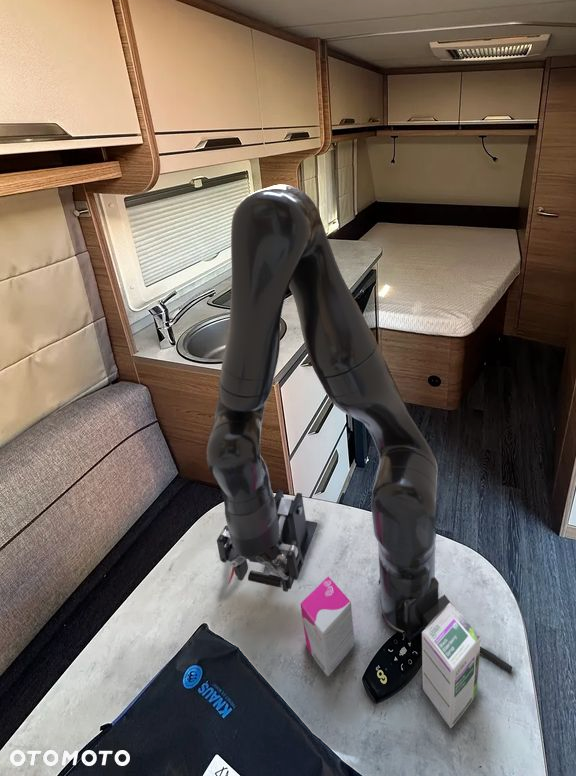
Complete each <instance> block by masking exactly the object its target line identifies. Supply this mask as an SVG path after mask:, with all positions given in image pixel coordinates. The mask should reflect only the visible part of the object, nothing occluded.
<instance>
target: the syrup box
mask: <svg viewBox="0 0 576 776" xmlns="http://www.w3.org/2000/svg"><path fill="white" fill-rule="evenodd" d="M480 647H481V636H480V634H479V633H478V632H477V630H475V629H474V627H473V626H472V625H471V624H470V623H469V621H468V620H467V619H466V618H465V617H464V616H463V615H462V614H461V613H460V611H458V609H457V608H456V607H454V605H453V604H452V602H451V603H449V604H448V605H447V606H446V607H445V608H444V609H443V610H442V611H441V612H440V613H439V614H438V615H437V616H436V617H435V618H434V619H433V620H432V621H431V622H430V624H429V625H428V626H427V627H426V628H425V629H424V630H423V631H422V633H421V655H422V656H421V660H422V661H421V662H422V663H421V664H422V665H421V666H422V669H421V670H422V690H423V691H424V693H425V694H426V695H427V697H428V699H429V700H430V701H431V703H432V704H433V706H434V707H435V709H436V710H437V712H438V713H439V714H440V716H441V717H442V718H443V720H444V721H445V723H446V724H447V726H448V727H449V729H452V728H453V727H454V726H455V724H457V722H458V721H459V720H460V719H461V717H462V716H463V714H464V713H465V712H466V711H467V709H468V708H469V706H470V705H471V704H472V702H473V701H474V699H475V698H476V697H477V695H478V681H479V678H478V677H479V667H480Z"/></svg>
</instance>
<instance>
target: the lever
mask: <svg viewBox="0 0 576 776" xmlns="http://www.w3.org/2000/svg"><path fill="white" fill-rule="evenodd" d="M293 501H294V498H288V497H284V498H283V497H282V498H281V501H280V505H279V508H278V511H277V514H278V515H279V516H280V519H279V537H280V539H281V538H282V534H283V531H284V527H285V524H286V520H287V518H289V516H288V512H289V510H290V508H291V505H292V503H293ZM272 562H273V563H274V562H275V559H274V560H273V561H272ZM247 581H249V582H253V583H257V584H261V585H267V586H271V587H274V588H279V589H281V588H282V581H281V577H280V576H279V575H275V574H272V572H271V571H270V570H269V569H268V568H267V567H266V566H265V565H264V569H263V572H261V571H257V570H250V571H249V573H248V576H247Z"/></svg>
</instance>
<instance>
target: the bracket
mask: <svg viewBox="0 0 576 776" xmlns="http://www.w3.org/2000/svg"><path fill="white" fill-rule="evenodd" d="M282 497H283V498H285V496H284V491H283V490H282V489H277V491H276V493H275V494H274V498H275V504H276V510H277V511H278V508H279V505H280V501H281V498H282ZM304 505H305V504H304V499H303V494H302V493H301V492H297V493H296V494H295V497H294V498H293V503H292V505H291V508H290V510H289V512H288V516H289V518H287V520H286V524H285V527H284V531H283V534H282V538H281V540H282V542H283V544H287V545H291V543H292V541H294V540H295V541H297V542H298V543H299V546H300V550H301V555H302V559H303V562H305V558H306V555H307V554H308V550H309V547H310V546H311V542H312V539H313V538H314V537H313V536H314V534H315V531H316V528H317V526H318V522H316V521H310V520H307V518H306V512H305V506H304ZM277 516H278V522H279V519H280V516H279V515H278V514H277ZM276 559H277V557H276V558H275V561H276ZM274 563H275V562H274ZM285 566H286V564H285V563H284V562H283V563H282V568H283V569H284V568H285Z"/></svg>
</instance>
